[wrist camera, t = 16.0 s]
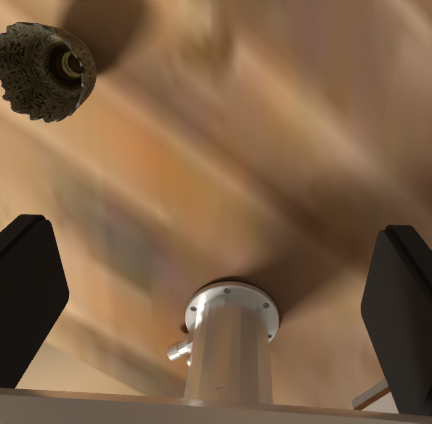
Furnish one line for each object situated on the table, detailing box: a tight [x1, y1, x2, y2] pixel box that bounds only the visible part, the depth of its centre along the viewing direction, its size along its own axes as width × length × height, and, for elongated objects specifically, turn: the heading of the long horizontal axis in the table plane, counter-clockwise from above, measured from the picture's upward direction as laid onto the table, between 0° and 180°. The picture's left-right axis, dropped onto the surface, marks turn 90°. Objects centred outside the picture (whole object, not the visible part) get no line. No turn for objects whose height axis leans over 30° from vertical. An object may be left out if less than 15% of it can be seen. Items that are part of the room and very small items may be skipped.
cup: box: [0, 22, 97, 123], centre depth 32 cm, size 8×7×8 cm
